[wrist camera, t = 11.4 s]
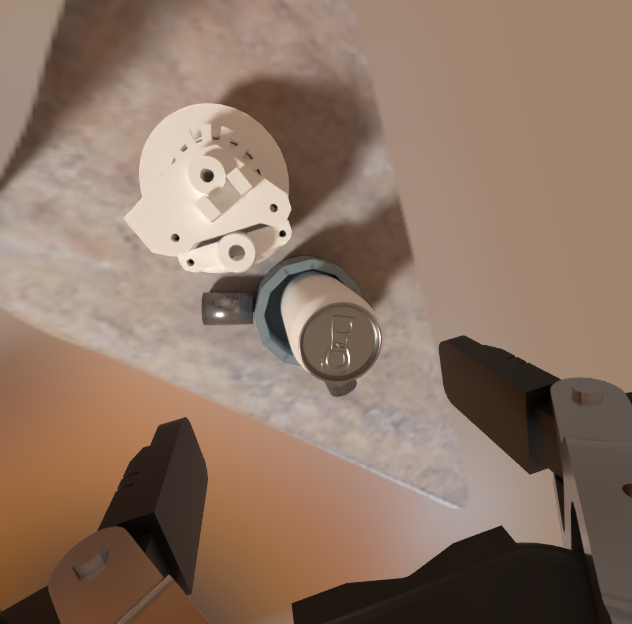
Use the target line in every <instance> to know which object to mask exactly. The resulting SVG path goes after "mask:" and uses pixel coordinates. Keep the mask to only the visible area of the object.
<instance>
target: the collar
mask: <svg viewBox="0 0 632 624" xmlns="http://www.w3.org/2000/svg"><path fill="white" fill-rule="evenodd" d="M310 271H319V272H323V273H326V274H329V275H331V276H332V277H334V278H335V279H337V280H338V281H339V282H341V283H342V284H344V285H345V286H346V287H348V288H349V289H350V290H352V291H353V292H354V293H356V294H357V295H358V296H360V297H361V298H362V295H361V290H360V287H359V286H358V285H357V284H356V283H355V282H354V281H353V279H352V278H351V277H350V276H349V275H348V274H347V273H346V272H345V271H344V270H343V269H342V268H341V267H340V266H338V265H336V264H335V263H333V262H330V261H326V260H323V259H321V258H318V257H313V256H309V255H305V256H297V257H292V258H289V259H286V260H284V261H282V262H280V263H279V264H277V265H276V266H274V267H273V268H272V269H271V270H270V271H269V272H268V273H267V274H266V276H265V277H264V279H263V280H262V281H261V283H260V286H259V289H258V292H257V298H256V302H255V306H254V318H255V321H256V324H257V328H258V331H259V334H260V338H261V341H262V343H263V345H264V346H266V347H267V348H268V349H269V350H270V351H271V352H272V353H273V354H274V355H276V356H277V357H278V358H279V359H280V360H281V361H282V362H285V363H289V364H294V365H299V366H301V365H300V364H299V363H298V361H297V360H296V358H295V356H294V354H293V352H292V349H291V347H290V343H289V340H288V336H287V333H286V329H285V326H284V322H283V318H282V314H281V308H280V301H281V296H282V293H283V291H284V289H285V287H286V286H287V284H288V283H289V282H290V281H291V280H292V279H293V278H295V277H296V276H298V275H300V274H302V273H305V272H310Z"/></svg>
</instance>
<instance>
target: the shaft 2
mask: <svg viewBox="0 0 632 624" xmlns="http://www.w3.org/2000/svg"><path fill="white" fill-rule="evenodd" d="M324 382H325V381H324ZM325 384H326V386H327V388H328V390H329V392H330V394H331V395H332V396H335V397H338V396H343V395H346V394H348V393H350V392H351V391H352V390H353V389H354V388H355V387H356V385H357V382H356V380H352V381H349V382H345V383H329V382H325Z"/></svg>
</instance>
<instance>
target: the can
mask: <svg viewBox="0 0 632 624" xmlns="http://www.w3.org/2000/svg"><path fill="white" fill-rule="evenodd" d="M280 308H281V314H282V318H283V322H284V326H285V329H286V333H287V336H288V340H289V343H290V347H291V349H292V352H293V354H294V356H295V358H296V360H297V361H298V363H299V364H300V365H301V366H302V367H303V368H304V369H305V370H306V371H308V372H309V373H311V374H312V375H313V376H315V377H316V378H318V379H320V380H322V381H325V382H329V383H345V382H349V381H352V380H355V379H357V378H359V377H360V376H362V375H363V374H365V373H366V372H367V371H368V370H369V369H370V368H371V367H372V366H373V364H374V363H375V361H376V360H377V358H378V356H379V353H380V350H381V344H382V336H381V330H380V327H379V323H378V319H377V317H376V314H375V313H374V311H373V309H372V308H371V307H370V305H369V304H368V303H367V302H366V301H365V300H363V299H362V298H361V297H360V296H358V295H357V294H356V293H354V292H353V291H352V290H350V289H349V288H348V287H346V286H345V285H344V284H342V283H341V282H339V281H338V280H337V279H335V278H334V277H332V276H331V275H329V274H326V273H323V272H319V271H310V272H305V273H302V274H300V275H298V276H296V277H295V278H293V279H292V280H291V281H290V282H289V283H288V284H287V286H286V287H285V289H284V291H283V293H282V296H281V301H280Z"/></svg>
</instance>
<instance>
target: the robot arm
mask: <svg viewBox="0 0 632 624" xmlns="http://www.w3.org/2000/svg"><path fill="white" fill-rule="evenodd" d="M439 355H440V363H441V370H442V378H443V385H444V390H445V393H446V395H447V397H448V399H449V401H450V402H451V403H452V404H453V405H454V406H455V407H456V408H457V409H458V410H459V411H460V412H461V413H462V414H464V415H465V416H466V417H467V418H468V419H469V420H470V421H471V422H472V423H473V424H475V425H476V426H477V427H478V428H479V429H480V430H482V432H484V433H485V434H486V435H487V436H488V437H489V438H490V439H491V440H492V441H493V442H494V443H496V444H497V445H498V446H499V447H500V448H501V449H502V450H503V451H504V452H506V453H507V454H508V455H509V456H510V457H511V458H512V459H513V460H514V461H516V462H517V463H518V464H519V465H520V466H521V467H522V468H523V469H524V470H525V471H527V472H528V473H529V474H533V473H536V472H539V471H541V470H544V469H547V468H549V469H550V470H551V471H552V472H553V483H554V490H555V497H556V502H557V509H558V515H559V522H560V528H561V534H562V540H563V547H564V548H562V547H558V546H553V545H547V544H539V543H516V542H515V541H514V540H513V539H512V537H511V536H510V535H509V534H508V533H507V531H506V530H505V529H504V528H503V527H502V526H499V527H496V528H493V529H491V530H488V531H485V532H482V533H480V534H477V535H474V536H472V537H469V538H466V539H464V540H461V541H458V542H456V543H453V544H452V545H450V546H449V547H448V548H446V549H445V550H444V551H442V552H441V553H440V554H438V555H437V556H436V557H434V558H433V559H432V560H430V561H429V562H428V563H426V564H425V565H423V566H422V567H421V568H420V569H418V570H417V571H416V572H414V573H413V574H411V575H410V576H408V577H405V578H399V579H388V580H377V581H367V582H366V581H365V582H354V583H346V584H343V585H340V586H337V587H335V588H332V589H330V590H327V591H324V592H321V593H319V594H316V595H313V596H311V597H308V598H305V599H302V600H300V601H297V602H294V603H292V611H293V619H294V624H632V392H630V393H624V391H623V390H622V389H620V388H619V387H617V386H615V385H613V384H611V383H608V382H605V381H601V380H597V379H592V378H568V379H563V380H561V379H559V378H557V377H555V376H553V375H551V374H549V373H548V372H546V371H543V370H542V369H540V368H538V367H536V366H534V365H532V364H530V363H526V361H524V360H522V359H520V358H518V357H515V356H514V355H512V354H511V353H509V352H507V351H505V350H503V349H499V348H496V347H491V346H487V345H481V344H480V343H478V342H476V341H474V340H472V339H470V338H468V337H467V336H459V337H456V338H452V339H449V340H446V341H442V342H441V343H440V344H439ZM207 482H208V475H207V468H206V464H205V460H204V458H203V455H202V453H201V450H200V447H199V444H198V442H197V439H196V436H195V434H194V431H193V429H192V426H191V424H190V422H189V420H188V419H187V418H186V417H184V418H181V419H178V420H175V421H171V422H168V423H164V424H161V425H159V426H158V428H157V430H156V433H155V435H154V438H153V440H152V442H151V445H150V446H147V447H144V448H142V450H141V451H140V452H139V453H138V454H137V455H136V456H135V457H134V458H133V459H132V460H131V461H130V463H129V465H128V467H127V469H126V471H125V474H124V476H123V479H122V480H121V482H120V484H119V486H118V491H116V493H115V495H114V497H113V499H112V501H111V503H110V506H109V507H108V509H107V511H106V514H105V516H104V518H103V520H102V522H101V524H100V526H99V529H98V531H97V532H95V533H93V534H91V535H89V536H88V537H86V538H85V539H83V540H82V541H80V542H79V543H78V544H76V545H75V546H74V547H73V548H72V549H70V550H69V551H68V552H67V553H66V554H65V555H64V557H63V558H62V559H61V560H60V561H59V562H58V564H57V565H56V567H55V568H54V570H53V571H52V573H51V575H50V578H49V581H48V585H47V586H46V587H44V588H42V589H41V590H39V591H37V592H35V593H34V594H32V595H30V596H28V597H27V598H25V599H23V600H21V601H20V602H18V603H16V604H14V605H13V606H11V607H9V608H7V609H6V610H4V611H1V610H0V624H210V623H209V622H208V621H207V619H206V618H205V617H204V616H203V615H202V613H201V612H200V611H199V610H198V609H197V607H196V606H195V605H194V604H193V602H192V601H191V600H190V599H189V598H188V596H187V595H190V594H192V587H193V580H194V573H195V567H196V560H197V553H198V546H199V539H200V532H201V525H202V518H203V511H204V504H205V497H206V490H207Z"/></svg>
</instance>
